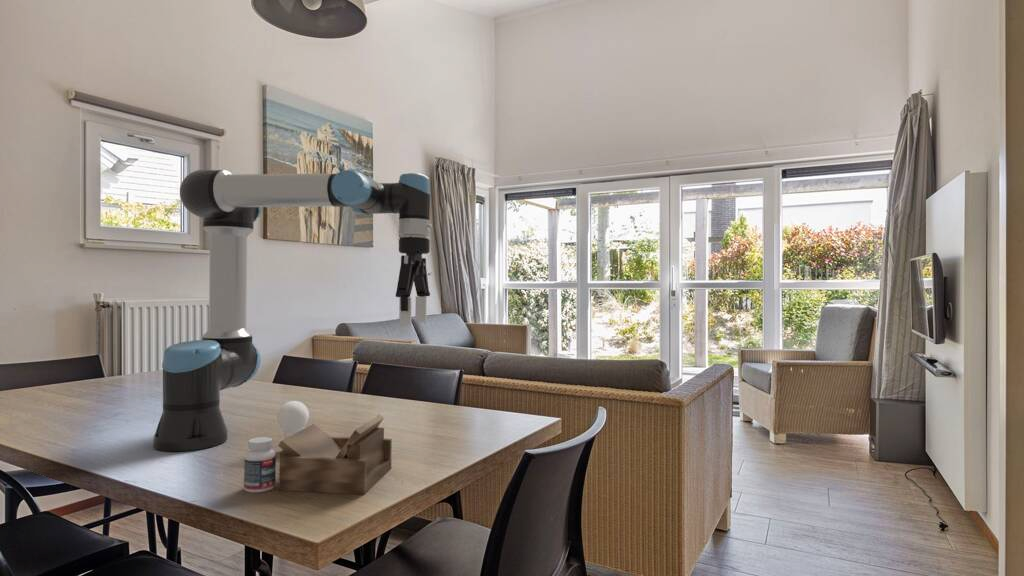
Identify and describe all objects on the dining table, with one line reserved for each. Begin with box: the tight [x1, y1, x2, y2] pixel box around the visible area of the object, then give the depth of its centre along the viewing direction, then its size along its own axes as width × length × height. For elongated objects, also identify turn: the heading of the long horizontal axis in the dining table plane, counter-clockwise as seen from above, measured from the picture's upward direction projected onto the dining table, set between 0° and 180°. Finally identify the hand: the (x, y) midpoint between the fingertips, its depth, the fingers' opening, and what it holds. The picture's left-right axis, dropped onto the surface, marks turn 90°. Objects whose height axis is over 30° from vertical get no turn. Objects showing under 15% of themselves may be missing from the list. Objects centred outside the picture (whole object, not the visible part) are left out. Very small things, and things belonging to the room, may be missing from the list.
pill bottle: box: [243, 436, 277, 494], centre depth 105 cm, size 5×5×9 cm
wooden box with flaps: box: [277, 413, 393, 496], centre depth 111 cm, size 17×15×11 cm
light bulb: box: [277, 400, 310, 439], centre depth 130 cm, size 7×7×11 cm
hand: (413, 323), depth 142 cm, fingers open, 13 cm apart
